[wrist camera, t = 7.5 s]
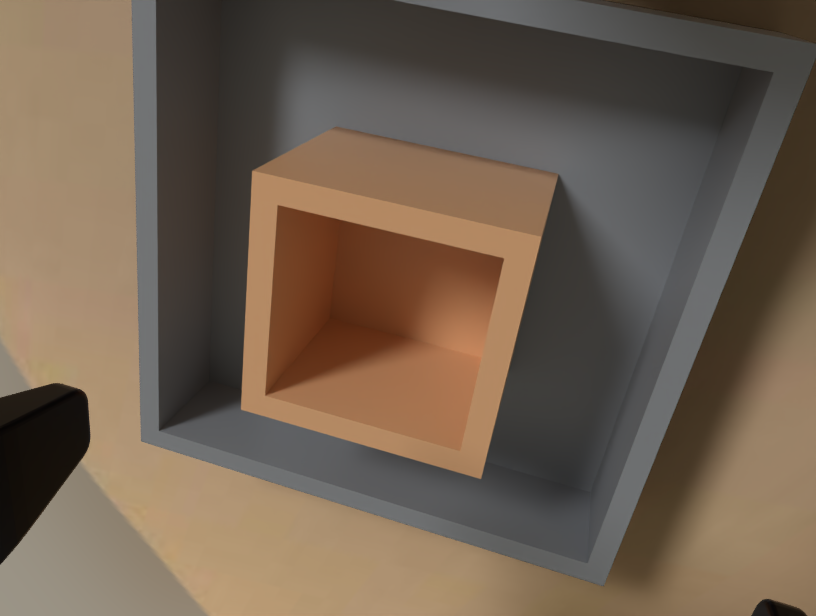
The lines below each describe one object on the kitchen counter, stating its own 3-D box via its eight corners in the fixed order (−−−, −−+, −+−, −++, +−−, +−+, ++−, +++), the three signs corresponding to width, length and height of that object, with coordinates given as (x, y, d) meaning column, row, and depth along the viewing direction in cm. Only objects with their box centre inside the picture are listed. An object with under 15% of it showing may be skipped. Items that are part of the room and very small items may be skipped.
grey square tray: (780, 32, 16) (821, 44, 13) (604, 502, 22) (603, 586, 19) (211, -71, 18) (130, -82, 15) (200, 383, 24) (141, 441, 21)
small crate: (558, 173, 18) (541, 237, 13) (508, 372, 21) (480, 478, 16) (335, 126, 19) (251, 170, 14) (316, 322, 22) (240, 409, 17)
